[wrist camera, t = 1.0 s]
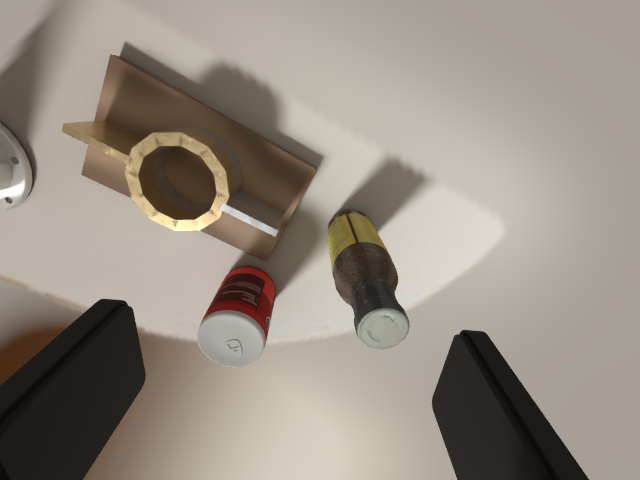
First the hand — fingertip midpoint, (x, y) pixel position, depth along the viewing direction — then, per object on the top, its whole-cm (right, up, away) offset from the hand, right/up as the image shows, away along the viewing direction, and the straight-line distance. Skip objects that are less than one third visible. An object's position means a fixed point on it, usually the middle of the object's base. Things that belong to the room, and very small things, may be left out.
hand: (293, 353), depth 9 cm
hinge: (-14, +11, +27) cm, 32 cm away
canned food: (-9, -4, +36) cm, 37 cm away
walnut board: (-14, +12, +28) cm, 33 cm away
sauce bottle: (+5, +5, +32) cm, 33 cm away
